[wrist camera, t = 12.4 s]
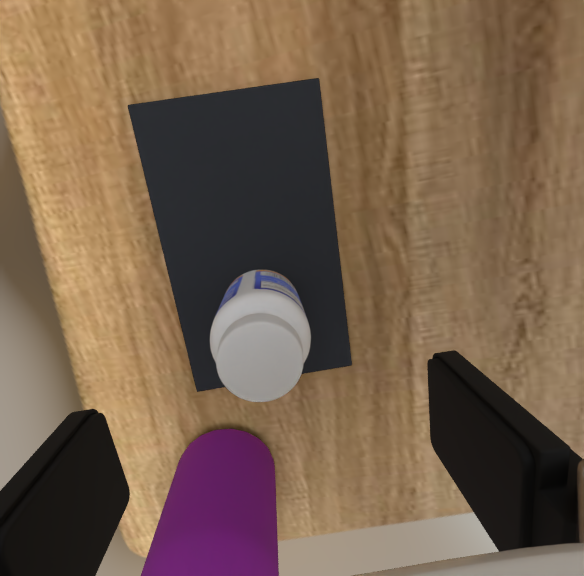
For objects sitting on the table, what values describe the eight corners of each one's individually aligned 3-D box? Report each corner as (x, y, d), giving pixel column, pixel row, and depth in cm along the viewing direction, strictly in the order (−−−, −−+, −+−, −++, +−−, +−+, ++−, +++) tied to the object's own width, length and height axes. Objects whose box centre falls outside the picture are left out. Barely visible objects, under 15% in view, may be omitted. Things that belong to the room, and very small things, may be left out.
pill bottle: (240, 349, 26) (225, 434, 16) (212, 282, 24) (178, 333, 15) (309, 324, 26) (334, 395, 16) (285, 256, 24) (297, 291, 15)
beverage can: (283, 490, 30) (294, 677, 18) (194, 510, 29) (147, 712, 18) (264, 412, 28) (263, 566, 16) (168, 433, 27) (97, 603, 16)
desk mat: (129, 106, 22) (127, 104, 21) (318, 79, 22) (318, 77, 22) (197, 389, 27) (196, 391, 26) (350, 363, 27) (352, 365, 27)
